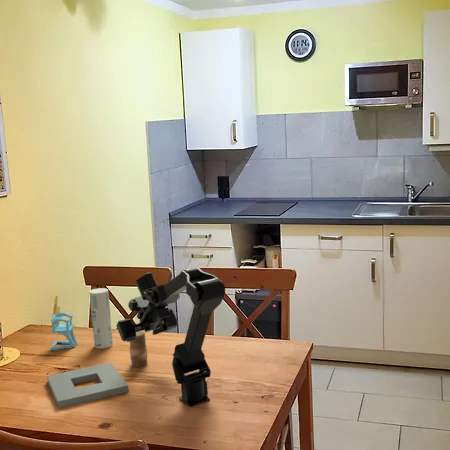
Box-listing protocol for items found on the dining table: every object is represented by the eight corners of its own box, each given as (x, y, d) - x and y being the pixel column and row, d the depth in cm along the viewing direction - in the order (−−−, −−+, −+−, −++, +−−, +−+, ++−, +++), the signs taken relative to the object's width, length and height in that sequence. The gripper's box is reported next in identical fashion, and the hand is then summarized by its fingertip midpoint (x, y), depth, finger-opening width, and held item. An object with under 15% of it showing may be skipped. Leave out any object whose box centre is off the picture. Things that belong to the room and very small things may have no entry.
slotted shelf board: (128, 391, 183) (128, 385, 183) (58, 408, 175) (58, 401, 175) (111, 368, 201) (111, 362, 201) (47, 382, 193) (47, 376, 193)
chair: (73, 350, 220) (70, 317, 217) (50, 350, 220) (46, 318, 218) (78, 342, 227) (76, 310, 225) (56, 343, 227) (52, 311, 225)
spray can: (115, 346, 221) (110, 291, 217) (97, 350, 218) (91, 294, 214) (110, 340, 226) (105, 287, 223) (92, 344, 224) (87, 290, 220)
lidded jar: (135, 368, 200) (133, 338, 198) (128, 363, 204) (125, 334, 202) (150, 364, 203) (148, 334, 201) (143, 359, 207) (140, 330, 205)
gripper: (170, 284, 198) (156, 309, 209) (116, 296, 187) (104, 322, 198) (185, 314, 192) (170, 338, 204) (129, 328, 182) (117, 353, 193)
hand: (140, 337), depth 200 cm, fingers open, 9 cm apart
